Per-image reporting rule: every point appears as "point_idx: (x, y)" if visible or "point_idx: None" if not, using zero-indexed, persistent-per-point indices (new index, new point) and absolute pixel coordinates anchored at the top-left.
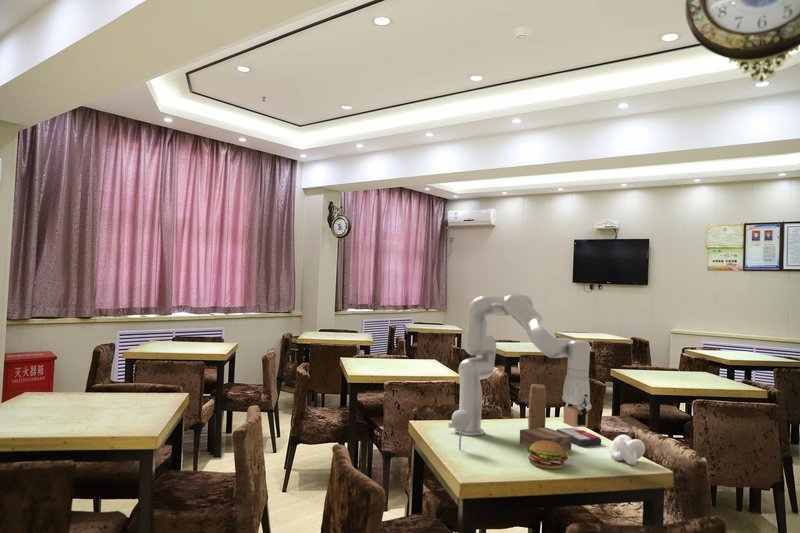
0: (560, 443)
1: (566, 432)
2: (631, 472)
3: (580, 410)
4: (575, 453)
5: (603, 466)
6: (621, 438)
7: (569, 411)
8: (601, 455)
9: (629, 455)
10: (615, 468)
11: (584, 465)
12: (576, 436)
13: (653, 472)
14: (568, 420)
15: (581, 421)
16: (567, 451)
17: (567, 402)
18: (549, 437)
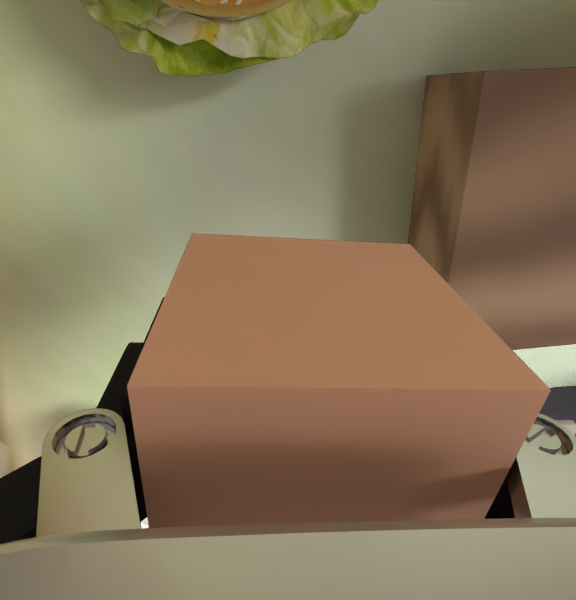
0: (431, 247)
1: (562, 424)
2: (16, 362)
3: (51, 483)
4: None
5: (122, 293)
6: (146, 524)
7: (329, 344)
8: None
9: None
10: (84, 330)
11: (152, 193)
12: None
13: (20, 448)
14: (317, 262)
15: (126, 351)
16: (148, 55)
17: (530, 527)
18: (492, 165)
